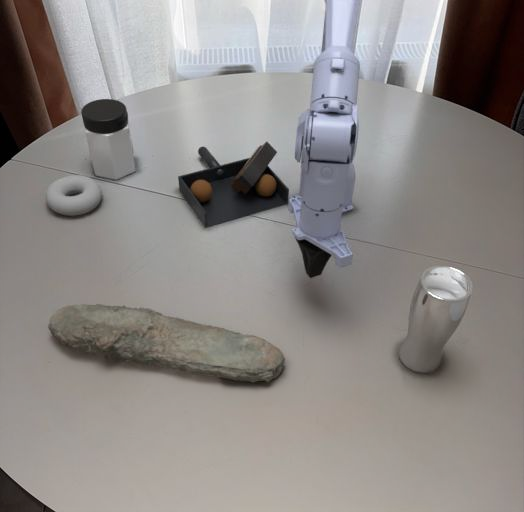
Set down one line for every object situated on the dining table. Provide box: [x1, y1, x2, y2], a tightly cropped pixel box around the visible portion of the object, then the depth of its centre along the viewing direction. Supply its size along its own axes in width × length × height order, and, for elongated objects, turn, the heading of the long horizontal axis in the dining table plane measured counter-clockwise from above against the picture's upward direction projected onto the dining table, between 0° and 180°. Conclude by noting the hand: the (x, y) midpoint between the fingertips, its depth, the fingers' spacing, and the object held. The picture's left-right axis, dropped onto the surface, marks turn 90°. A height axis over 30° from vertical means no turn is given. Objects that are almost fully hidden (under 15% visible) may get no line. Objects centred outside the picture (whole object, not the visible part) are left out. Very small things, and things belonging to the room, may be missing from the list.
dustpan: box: [177, 146, 290, 229], centre depth 111 cm, size 21×17×3 cm
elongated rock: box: [47, 303, 286, 384], centre depth 83 cm, size 35×5×10 cm
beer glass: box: [398, 264, 474, 374], centre depth 79 cm, size 7×7×15 cm
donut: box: [45, 174, 103, 217], centre depth 106 cm, size 10×4×10 cm
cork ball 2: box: [255, 174, 276, 196], centre depth 108 cm, size 4×4×4 cm
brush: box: [231, 141, 278, 194], centre depth 108 cm, size 10×3×6 cm
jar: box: [80, 98, 137, 181], centre depth 110 cm, size 9×8×12 cm
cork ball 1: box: [190, 180, 212, 202], centre depth 107 cm, size 4×4×4 cm
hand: (313, 273), depth 89 cm, fingers closed
